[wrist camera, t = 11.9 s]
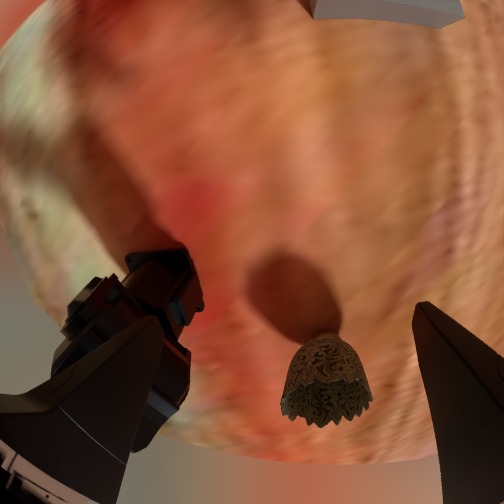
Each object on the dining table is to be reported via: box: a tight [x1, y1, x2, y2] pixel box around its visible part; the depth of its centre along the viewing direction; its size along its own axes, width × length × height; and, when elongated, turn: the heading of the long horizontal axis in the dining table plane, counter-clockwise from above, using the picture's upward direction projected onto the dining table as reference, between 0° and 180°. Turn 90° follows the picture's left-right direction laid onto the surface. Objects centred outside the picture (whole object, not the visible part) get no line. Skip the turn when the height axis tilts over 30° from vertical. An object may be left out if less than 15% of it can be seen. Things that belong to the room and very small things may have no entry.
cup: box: [280, 330, 373, 428], centre depth 23 cm, size 8×7×8 cm
